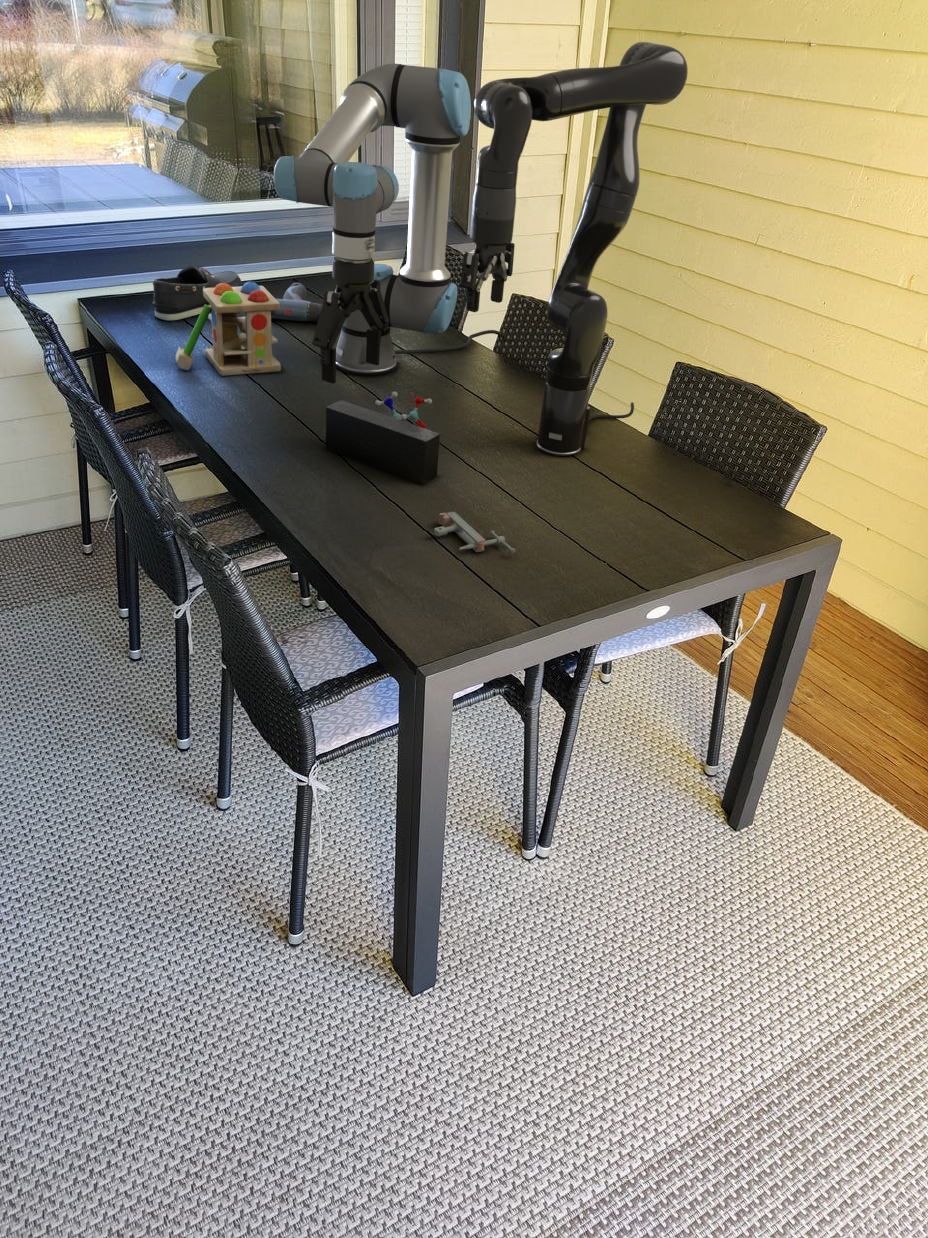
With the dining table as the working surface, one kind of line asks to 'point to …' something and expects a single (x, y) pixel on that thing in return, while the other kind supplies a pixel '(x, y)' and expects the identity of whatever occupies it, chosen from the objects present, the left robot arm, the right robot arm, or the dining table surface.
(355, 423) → the bar
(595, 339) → the right robot arm
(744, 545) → the dining table surface
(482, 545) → the clamp
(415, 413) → the molecular model
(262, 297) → the pounding bench toy
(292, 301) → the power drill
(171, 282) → the boat shoe
